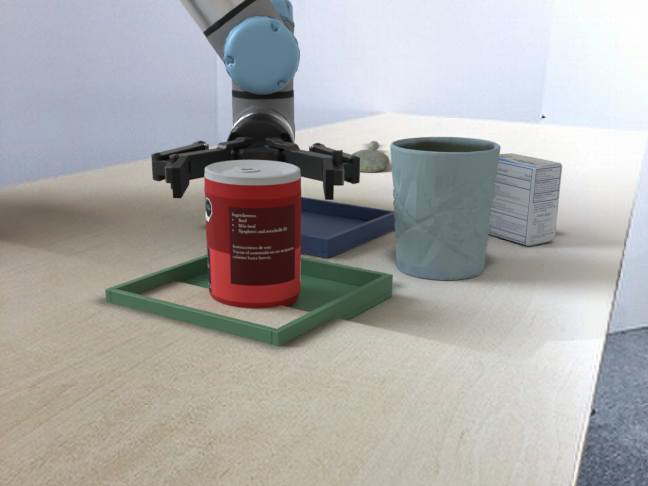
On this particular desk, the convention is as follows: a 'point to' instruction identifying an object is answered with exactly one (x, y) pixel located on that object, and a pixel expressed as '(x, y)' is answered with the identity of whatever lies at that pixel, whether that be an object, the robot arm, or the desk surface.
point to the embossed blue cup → (443, 204)
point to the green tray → (315, 297)
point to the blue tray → (340, 226)
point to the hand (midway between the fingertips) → (253, 184)
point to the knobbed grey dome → (372, 158)
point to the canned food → (253, 232)
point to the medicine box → (525, 199)
